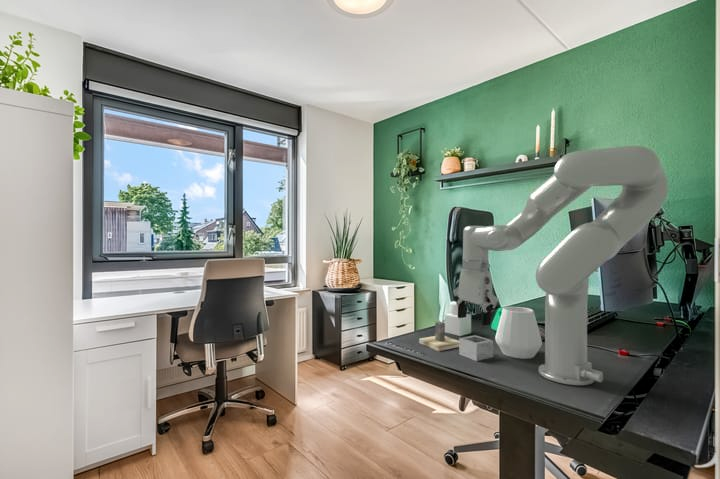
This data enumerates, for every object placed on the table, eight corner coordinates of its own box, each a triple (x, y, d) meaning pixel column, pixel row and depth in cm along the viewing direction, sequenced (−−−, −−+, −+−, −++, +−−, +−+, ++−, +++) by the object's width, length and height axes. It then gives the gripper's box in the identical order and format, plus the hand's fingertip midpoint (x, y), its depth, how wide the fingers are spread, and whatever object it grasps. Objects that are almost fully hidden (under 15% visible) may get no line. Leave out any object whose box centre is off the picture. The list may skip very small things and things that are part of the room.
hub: (493, 357, 107) (493, 340, 107) (476, 361, 104) (476, 344, 104) (475, 350, 114) (475, 335, 114) (459, 354, 110) (459, 338, 110)
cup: (551, 361, 104) (551, 313, 104) (505, 361, 104) (505, 313, 104) (529, 346, 117) (529, 305, 117) (488, 347, 117) (488, 305, 117)
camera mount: (529, 338, 128) (529, 310, 128) (510, 339, 126) (510, 311, 126) (508, 330, 140) (508, 304, 139) (491, 331, 138) (491, 304, 138)
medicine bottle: (455, 329, 140) (455, 299, 140) (471, 333, 134) (471, 301, 134) (444, 332, 135) (444, 301, 135) (460, 336, 130) (460, 304, 130)
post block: (461, 346, 118) (461, 324, 118) (438, 351, 113) (438, 327, 113) (441, 338, 127) (441, 318, 127) (419, 343, 122) (419, 321, 122)
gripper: (507, 268, 103) (505, 326, 104) (463, 263, 118) (461, 313, 119) (489, 269, 99) (487, 329, 100) (446, 263, 115) (444, 316, 115)
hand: (473, 321), depth 109 cm, fingers open, 9 cm apart
